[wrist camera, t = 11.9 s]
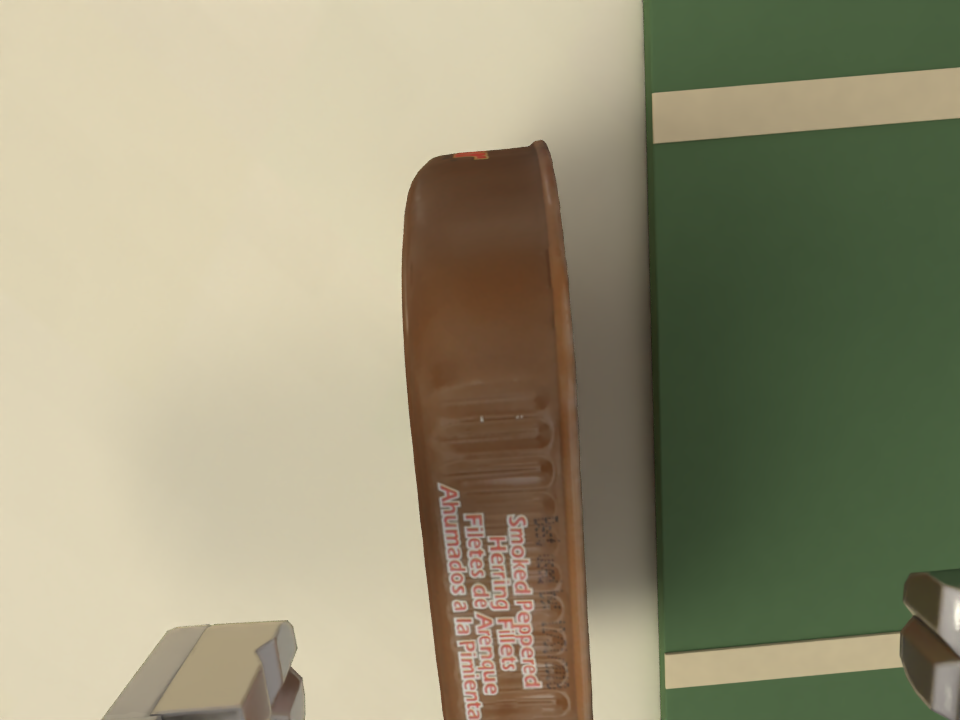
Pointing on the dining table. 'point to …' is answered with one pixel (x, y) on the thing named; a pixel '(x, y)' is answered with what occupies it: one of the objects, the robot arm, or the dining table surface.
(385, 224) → the dining table surface
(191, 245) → the dining table surface
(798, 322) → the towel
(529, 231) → the tin
